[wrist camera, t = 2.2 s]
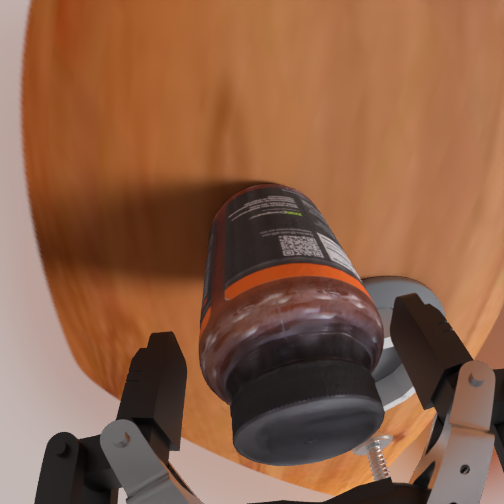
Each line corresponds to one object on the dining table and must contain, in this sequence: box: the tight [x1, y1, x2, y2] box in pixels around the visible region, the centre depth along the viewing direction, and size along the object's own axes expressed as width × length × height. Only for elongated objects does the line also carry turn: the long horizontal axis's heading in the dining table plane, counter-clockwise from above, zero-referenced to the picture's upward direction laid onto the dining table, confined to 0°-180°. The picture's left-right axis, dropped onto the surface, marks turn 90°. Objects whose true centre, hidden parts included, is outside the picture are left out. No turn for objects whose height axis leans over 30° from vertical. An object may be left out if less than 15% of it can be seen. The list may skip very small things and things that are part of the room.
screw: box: [352, 429, 393, 481], centre depth 24 cm, size 13×5×5 cm
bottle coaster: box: [361, 276, 445, 411], centre depth 20 cm, size 14×14×3 cm
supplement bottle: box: [199, 184, 385, 466], centre depth 12 cm, size 6×6×11 cm
